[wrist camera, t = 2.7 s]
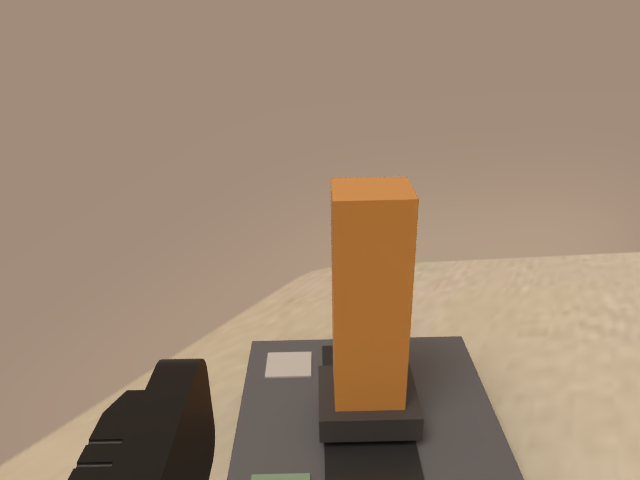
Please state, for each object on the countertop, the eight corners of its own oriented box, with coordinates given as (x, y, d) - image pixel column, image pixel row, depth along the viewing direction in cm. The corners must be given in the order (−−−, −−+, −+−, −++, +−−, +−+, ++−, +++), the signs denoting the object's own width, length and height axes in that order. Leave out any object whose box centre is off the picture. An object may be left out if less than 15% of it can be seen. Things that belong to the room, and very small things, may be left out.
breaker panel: (456, 376, 31) (461, 334, 29) (539, 594, 19) (552, 543, 18) (256, 380, 31) (252, 339, 29) (221, 602, 19) (213, 551, 18)
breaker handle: (408, 383, 25) (422, 172, 21) (422, 440, 22) (442, 204, 17) (318, 385, 25) (312, 174, 21) (319, 442, 22) (312, 207, 17)
